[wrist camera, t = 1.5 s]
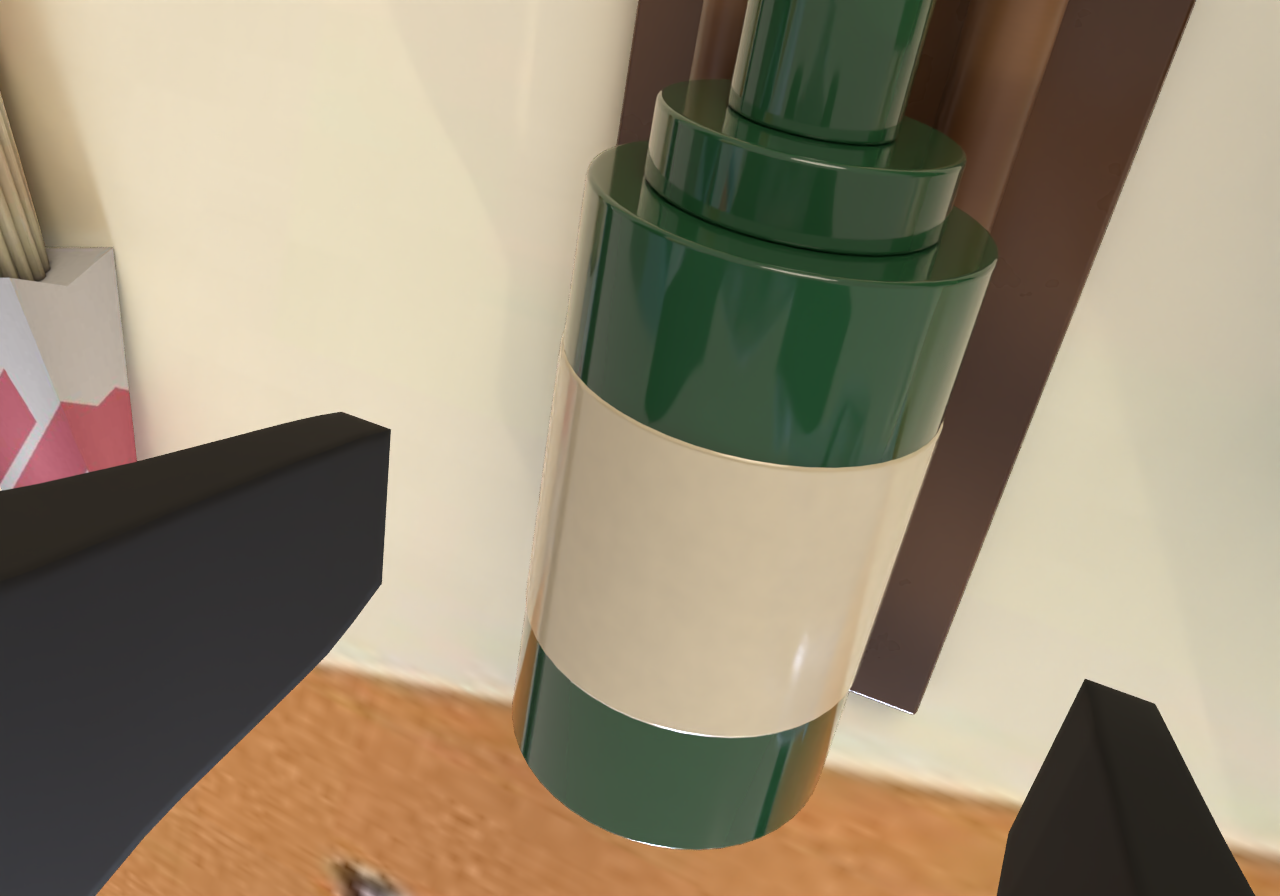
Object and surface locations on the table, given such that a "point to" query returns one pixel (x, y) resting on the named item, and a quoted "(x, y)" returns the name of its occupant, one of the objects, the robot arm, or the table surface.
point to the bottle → (742, 425)
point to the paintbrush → (56, 347)
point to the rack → (1006, 207)
